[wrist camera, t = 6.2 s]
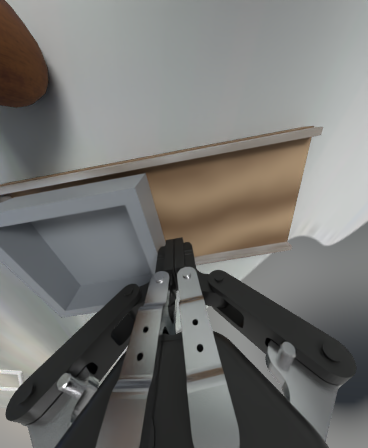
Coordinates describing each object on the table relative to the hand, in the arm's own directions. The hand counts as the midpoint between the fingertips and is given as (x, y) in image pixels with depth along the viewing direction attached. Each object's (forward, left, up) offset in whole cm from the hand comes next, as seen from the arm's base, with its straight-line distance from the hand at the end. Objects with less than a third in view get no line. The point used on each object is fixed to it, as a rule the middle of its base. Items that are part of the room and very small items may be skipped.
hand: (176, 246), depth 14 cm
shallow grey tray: (0, -8, -5) cm, 9 cm away
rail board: (0, -1, -6) cm, 6 cm away
